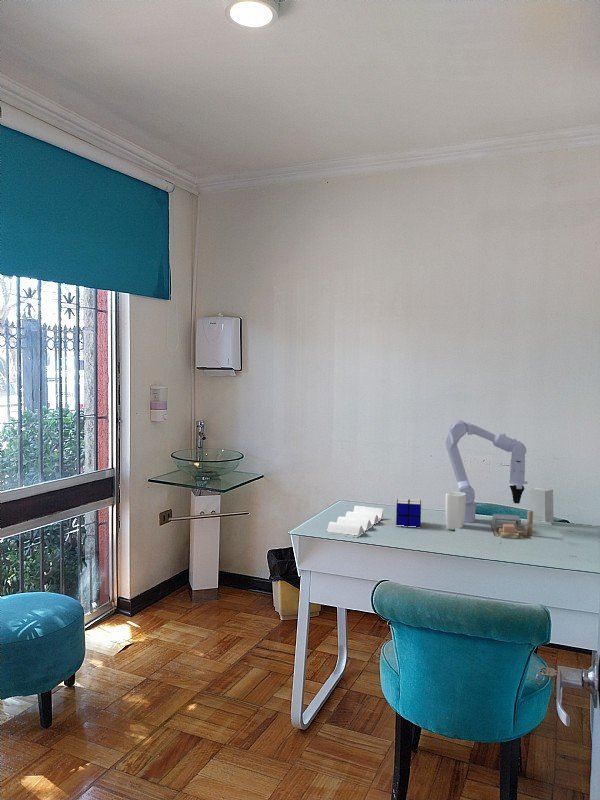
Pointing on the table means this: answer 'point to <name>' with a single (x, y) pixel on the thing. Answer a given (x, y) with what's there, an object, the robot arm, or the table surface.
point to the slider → (516, 534)
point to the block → (508, 528)
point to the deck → (515, 529)
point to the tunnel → (506, 518)
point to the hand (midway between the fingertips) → (516, 503)
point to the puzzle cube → (408, 512)
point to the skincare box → (541, 504)
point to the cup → (455, 509)
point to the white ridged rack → (356, 521)
